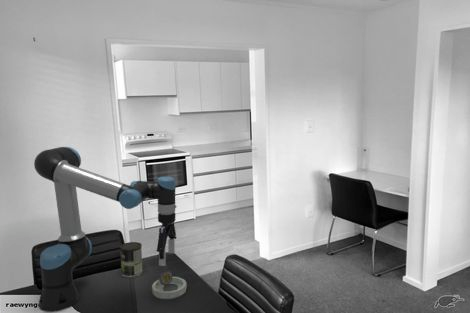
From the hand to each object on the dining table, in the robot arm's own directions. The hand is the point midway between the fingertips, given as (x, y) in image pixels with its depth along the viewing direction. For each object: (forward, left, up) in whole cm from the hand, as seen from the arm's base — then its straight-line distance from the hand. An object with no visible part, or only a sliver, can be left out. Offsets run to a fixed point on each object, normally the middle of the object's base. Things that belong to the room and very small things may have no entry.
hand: (167, 259), depth 163 cm
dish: (+1, 0, -15) cm, 15 cm away
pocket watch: (0, 0, -14) cm, 14 cm away
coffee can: (-23, +16, -15) cm, 32 cm away
